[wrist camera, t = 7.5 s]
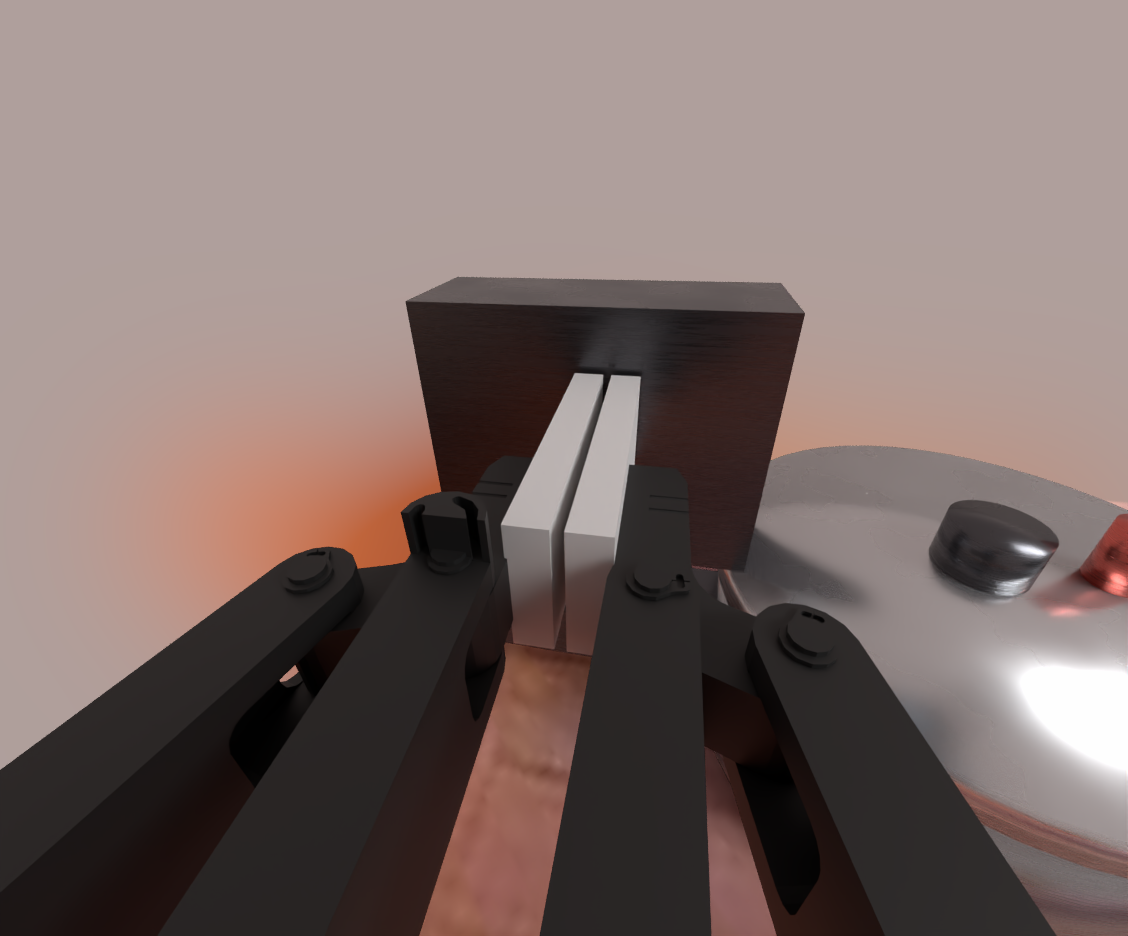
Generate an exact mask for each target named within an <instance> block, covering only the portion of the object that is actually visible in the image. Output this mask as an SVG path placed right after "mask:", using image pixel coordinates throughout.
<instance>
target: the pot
mask: <svg viewBox="0 0 1128 936" xmlns="http://www.w3.org/2000/svg"><path fill="white" fill-rule="evenodd" d="M692 571H693V575H694V576H695V578H696V580H697V582H698V583H699V585H700V586H701V587H702V588H703V589H704V590H705V591H706V592H707V593H708V594H710V595H711V596H713V597H714V598H715V599H717V600H718V601H720V602H722V603H724V604H726V605H728V604H727V601H726V598H725V595H724V592H723V589H722V587H721V584H720V581H719V575H718V571H710V570H702V569H695V568H692ZM505 642H506V643H512V644H516V643H513V633H512V625H511V627H510V630H509V633H508V636H507V639H506V641H505ZM518 645H522V644H518ZM524 646H529V645H524ZM530 647H535V646H530ZM536 648H542V647H536ZM542 649H547V650H553V651H559V652H565V653H571V654H577V655H583V656H589V657H592V655H586V654H580V653H573V652H567V644H566V604H565V608H564V612H563V616H562V620H561V624H560V628H559V632H558V636H557V640H556V644H555V648H554V649H548V648H542ZM715 754H716V757H717V759H718V761H719V763H720V765H721V767H722V769H723V771H724V773H725V774H726V776H727V778H728V780H729V782H730V779H729V776H728V773H727V770H726V766H725V763H724V760H723V755H721V754H719V753H717V752H715ZM730 784H731V783H730ZM982 825H983V824H982ZM983 826H984V828H985V829H986V831H987V832H988V834H989V835H990V837H991V838H992V840H993V841H994V843H995V844H996V846H997V847H998V849H999V850H1000V852H1001V853H1002V855H1003V856H1004V858H1005V859H1006V861H1007V862H1008V864H1009V865H1010V867H1011V868H1012V870H1013V871H1014V873H1015V874H1016V876H1017V877H1018V879H1019V880H1020V882H1021V883H1022V885H1023V886H1024V887H1025V889H1026V890H1027V892H1028V893H1029V895H1030V896H1031V898H1032V899H1033V901H1034V902H1035V904H1036V905H1037V907H1038V908H1039V910H1040V911H1041V913H1042V914H1043V916H1044V917H1045V919H1046V920H1047V922H1048V923H1049V925H1050V926H1051V928H1052V929H1053V931H1054V932H1055V934H1056V935H1057V936H1128V879H1127V878H1123V877H1120V876H1116V875H1112V874H1109V873H1105V872H1101V871H1098V870H1094V869H1091V868H1087V867H1084V866H1081V865H1079V864H1076V863H1073V862H1071V861H1068V860H1065V859H1063V858H1060V857H1057V856H1055V855H1052V854H1049V853H1047V852H1044V851H1041V850H1039V849H1036V848H1033V847H1031V846H1028V845H1025V844H1023V843H1020V842H1018V841H1016V840H1014V839H1012V838H1010V837H1008V836H1006V835H1004V834H1001V833H999V832H997V831H995V830H993V829H991V828H989V827H987V826H985V825H983Z"/></svg>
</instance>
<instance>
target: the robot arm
mask: <svg viewBox="0 0 1128 936" xmlns="http://www.w3.org/2000/svg"><path fill="white" fill-rule="evenodd" d="M640 379H641V377H638V376H619V375H611V379H610V382H609V385H608V389H607V392H606V395H605V399H604V402H603V405H602V401H603V375H601V374H582V373H575V374H574V376H573V378H572V380H571V382H570V384H569V386H568V388H567V390H566V392H565V394H564V396H563V399H562V401H561V403H560V405H559V407H558V409H557V411H556V413H555V415H554V417H553V419H552V421H551V423H550V425H549V427H548V429H547V431H546V433H545V435H544V437H543V439H542V441H541V444H540V446H539V448H538V450H537V452H536V454H535V456H534V458H528V457H517V456H505V455H504V456H503V457H501V458H500V459H499V460H497V461H496V462H494V463H493V464H491V465H490V466H488V468H487V469H486V471H485V472H484V474H483V476H482V477H481V479H480V482H479V483H478V484H477V485H476V487H475V488H474V490H473V492H472V494H468V493H463V492H459V491H455V492H440V493H435V494H431V495H427V496H424V497H422V498H420V499H418V500H416V501H414V502H412V503H410V504H409V505H408V506H407V507H406V508H405V509H404V510H403V511H402V512H401V515H402V519H403V523H404V528H405V532H406V536H407V540H408V544H409V548H410V552H411V554H410V556H409V558H408V559H407V560H406V562H404V563H399V564H394V565H386V566H377V567H370V568H361V569H357V566H356V563H355V560H354V558H353V555H352V554H350V553H349V552H347V551H346V550H344V549H341V548H334V547H322V548H314V549H310V550H307V551H304V552H301V553H298V554H295V555H294V556H292V557H290V558H288V559H287V560H285V561H283V562H282V563H280V564H278V565H277V566H276V567H274V568H273V569H272V570H270V571H269V572H268V573H266V574H265V575H263V576H262V577H261V578H259V579H258V580H257V581H256V582H254V583H253V584H251V585H250V586H249V587H247V588H246V589H244V590H243V591H242V592H240V593H239V594H238V595H236V596H235V597H234V598H232V599H231V600H230V601H228V602H227V603H226V604H224V605H223V606H221V607H220V608H219V609H217V610H216V611H215V612H213V613H212V614H211V615H209V616H208V617H207V618H205V619H204V620H203V621H201V622H200V623H199V624H197V625H196V626H194V627H193V628H192V629H190V630H189V631H188V632H186V633H185V634H184V635H182V636H181V637H180V638H178V639H177V640H176V641H174V642H173V643H172V644H170V645H169V646H168V647H166V648H165V649H163V650H162V651H161V652H159V653H158V654H157V655H155V656H154V657H152V658H151V659H150V660H149V661H147V662H146V663H144V664H143V665H142V666H140V667H139V668H138V669H137V670H135V671H134V672H132V673H131V674H129V675H128V676H127V677H126V678H124V679H123V680H121V681H120V682H119V683H117V684H116V685H115V686H113V687H112V688H111V689H109V690H108V691H106V692H105V693H104V694H102V695H101V696H100V697H98V698H97V699H96V700H94V701H93V702H92V703H90V704H89V705H88V706H87V707H85V708H84V709H82V710H81V711H79V712H78V713H77V714H75V715H74V716H73V717H71V718H70V719H69V720H67V721H66V722H65V723H63V724H62V725H61V726H59V727H58V728H57V729H55V730H54V731H52V732H51V733H50V734H48V735H47V736H46V737H44V738H43V739H42V740H40V741H39V742H38V743H36V744H35V745H34V746H32V747H31V748H29V749H28V750H27V751H25V752H24V753H23V754H21V755H20V756H19V757H17V758H16V759H15V760H13V761H12V762H11V763H9V764H8V765H6V766H5V767H4V768H2V769H1V770H0V936H419V934H420V931H421V928H422V925H423V922H424V919H425V915H426V912H427V909H428V906H429V903H430V900H431V897H432V894H433V891H434V887H435V884H436V881H437V878H438V875H439V872H440V869H441V866H442V863H443V859H444V856H445V853H446V850H447V847H448V844H449V841H450V838H451V835H452V832H453V828H454V825H455V822H456V819H457V816H458V813H459V810H460V807H461V804H462V800H463V797H464V794H465V791H466V788H467V785H468V782H469V779H470V776H471V772H472V769H473V766H474V763H475V760H476V757H477V754H478V751H479V748H480V745H481V741H482V738H483V735H484V732H485V729H486V726H487V723H488V720H489V717H490V713H491V710H492V707H493V704H494V701H495V698H496V695H497V692H498V689H499V685H500V682H501V679H502V676H503V673H504V669H505V659H506V658H505V650H504V644H505V641H506V639H507V636H508V633H509V630H510V627H511V625H512V633H513V643H516V644H522V645H529V646H535V647H542V648H548V649H554V648H555V644H556V640H557V636H558V632H559V628H560V624H561V620H562V616H563V612H564V608H565V604H566V644H567V652H573V653H580V654H586V655H592V659H591V665H590V670H589V675H588V681H587V686H586V691H585V697H584V702H583V707H582V713H581V718H580V723H579V729H578V734H577V739H576V745H575V750H574V755H573V761H572V766H571V771H570V777H569V782H568V787H567V793H566V798H565V803H564V809H563V814H562V819H561V825H560V830H559V835H558V841H557V846H556V851H555V857H554V862H553V867H552V873H551V878H550V883H549V889H548V894H547V899H546V905H545V910H544V915H543V921H542V926H541V931H540V936H711V914H710V887H709V860H708V833H707V805H706V778H705V751H704V746H706V747H708V748H710V749H711V750H713V751H715V752H717V753H719V754H721V755H723V760H724V763H725V766H726V770H727V773H728V776H729V779H730V783H731V786H732V789H733V793H734V796H735V799H736V803H737V806H738V809H739V812H740V816H741V819H742V822H743V826H744V829H745V832H746V835H747V839H748V842H749V845H750V849H751V852H752V855H753V859H754V862H755V865H756V868H757V872H758V875H759V878H760V882H761V885H762V888H763V892H764V895H765V898H766V901H767V905H768V908H769V911H770V915H771V918H772V921H773V924H774V928H775V931H776V934H777V936H1057V935H1056V934H1055V932H1054V931H1053V929H1052V928H1051V926H1050V925H1049V923H1048V922H1047V920H1046V919H1045V917H1044V916H1043V914H1042V913H1041V911H1040V910H1039V908H1038V907H1037V905H1036V904H1035V902H1034V901H1033V899H1032V898H1031V896H1030V895H1029V893H1028V892H1027V890H1026V889H1025V887H1024V886H1023V885H1022V883H1021V882H1020V880H1019V879H1018V877H1017V876H1016V874H1015V873H1014V871H1013V870H1012V868H1011V867H1010V865H1009V864H1008V862H1007V861H1006V859H1005V858H1004V856H1003V855H1002V853H1001V852H1000V850H999V849H998V847H997V846H996V844H995V843H994V841H993V840H992V838H991V837H990V835H989V834H988V832H987V831H986V829H985V828H984V826H983V825H982V823H981V822H980V820H979V819H978V817H977V816H976V814H975V813H974V811H973V810H972V808H971V807H970V805H969V804H968V802H967V801H966V799H965V798H964V796H963V795H962V794H961V792H960V791H959V789H958V788H957V786H956V785H955V783H954V782H953V780H952V779H951V777H950V776H949V774H948V773H947V771H946V770H945V768H944V767H943V765H942V764H941V762H940V761H939V759H938V758H937V756H936V755H935V753H934V752H933V750H932V749H931V747H930V746H929V744H928V743H927V741H926V740H925V738H924V737H923V735H922V734H921V732H920V731H919V729H918V728H917V726H916V725H915V723H914V722H913V720H912V719H911V717H910V716H909V714H908V713H907V711H906V710H905V708H904V707H903V705H902V704H901V702H900V701H899V700H898V698H897V697H896V695H895V694H894V692H893V691H892V689H891V688H890V686H889V685H888V683H887V682H886V680H885V679H884V677H883V676H882V674H881V673H880V671H879V670H878V668H877V667H876V665H875V664H874V662H873V661H872V659H871V658H870V656H869V655H868V653H867V652H866V650H865V649H864V647H863V646H862V644H861V643H860V641H859V640H858V639H857V638H856V637H855V636H854V635H853V634H852V632H851V631H850V630H849V629H848V628H847V627H846V626H845V625H844V624H842V623H841V622H839V621H838V620H836V619H835V618H833V617H832V616H830V615H829V614H827V613H826V612H823V611H820V610H817V609H815V608H812V607H809V606H806V605H801V604H791V603H782V604H777V605H773V606H768V607H767V608H766V609H764V610H763V611H762V612H760V613H759V614H758V615H757V616H754V615H751V614H749V613H746V612H743V611H741V610H738V609H735V608H733V607H731V606H729V605H726V604H724V603H722V602H720V601H718V600H717V599H715V598H714V597H713V596H711V595H710V594H708V593H707V592H706V591H705V590H704V589H703V588H702V587H701V586H700V585H699V583H698V582H697V580H696V578H695V576H694V575H693V571H692V567H691V549H690V527H689V505H688V483H687V481H686V480H685V479H684V477H683V476H682V475H681V473H680V472H679V471H678V469H677V468H665V467H653V466H641V465H635V450H636V436H637V422H638V408H639V393H640ZM294 665H296V667H297V669H298V671H299V672H298V673H297V674H296V675H295V676H293V677H292V678H290V679H289V680H287V681H284V682H280V679H281V678H282V677H283V676H284V675H285V674H286V673H287V672H288V671H289V670H290V669H291V668H292V667H293V666H294Z"/></svg>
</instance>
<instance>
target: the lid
mask: <svg viewBox="0 0 1128 936" xmlns="http://www.w3.org/2000/svg"><path fill="white" fill-rule="evenodd" d="M406 306H407V312H408V317H409V322H410V327H411V333H412V338H413V344H414V349H415V354H416V359H417V365H418V370H419V375H420V380H421V386H422V391H423V397H424V402H425V407H426V412H427V418H428V423H429V429H430V434H431V439H432V445H433V450H434V455H435V460H436V466H437V471H438V476H439V481H440V487H441V492H455V491H459V492H463V493H468V494H472V492H473V490H474V488H475V487H476V485H477V484H478V483H479V482H480V479H481V477H482V476H483V474H484V472H485V471H486V469H487V468H488V466H490V465H491V464H493V463H494V462H496V461H497V460H499V459H500V458H501V457H503V456H504V455H505V456H517V457H528V458H534V456H535V454H536V452H537V450H538V448H539V446H540V444H541V441H542V439H543V437H544V435H545V433H546V431H547V429H548V427H549V425H550V423H551V421H552V419H553V417H554V415H555V413H556V411H557V409H558V407H559V405H560V403H561V401H562V399H563V396H564V394H565V392H566V390H567V388H568V386H569V384H570V382H571V380H572V378H573V376H574V374H575V373H582V374H601V375H603V401H602V405H603V402H604V399H605V395H606V392H607V389H608V385H609V382H610V379H611V375H619V376H638V377H641V379H640V393H639V408H638V422H637V436H636V450H635V465H641V466H653V467H665V468H677V469H678V471H679V472H680V473H681V475H682V476H683V477H684V479H685V480H686V481H687V483H688V505H689V527H690V549H691V565H693V566H701V567H709V568H716V569H718V575H719V581H720V584H721V587H722V589H723V592H724V595H725V598H726V601H727V604H728V605H729V606H731V607H733V608H735V609H738V610H741V611H743V612H746V613H749V614H751V615H754V616H757V615H758V614H759V613H760V612H762V611H763V610H764V609H766V608H767V607H768V606H773V605H777V604H782V603H791V604H801V605H806V606H809V607H812V608H815V609H817V610H820V611H823V612H826V613H827V614H829V615H830V616H832V617H833V618H835V619H836V620H838V621H839V622H841V623H842V624H844V625H845V626H846V627H847V628H848V629H849V630H850V631H851V632H852V634H853V635H854V636H855V637H856V638H857V639H858V640H859V641H860V643H861V644H862V646H863V647H864V649H865V650H866V652H867V653H868V655H869V656H870V658H871V659H872V661H873V662H874V664H875V665H876V667H877V668H878V670H879V671H880V673H881V674H882V676H883V677H884V679H885V680H886V682H887V683H888V685H889V686H890V688H891V689H892V691H893V692H894V694H895V695H896V697H897V698H898V700H899V701H900V702H901V704H902V705H903V707H904V708H905V710H906V711H907V713H908V714H909V716H910V717H911V719H912V720H913V722H914V723H915V725H916V726H917V728H918V729H919V731H920V732H921V734H922V735H923V737H924V738H925V740H926V741H927V743H928V744H929V746H930V747H931V749H932V750H933V752H934V753H935V755H936V756H937V758H938V759H939V761H940V762H941V764H942V765H943V767H944V768H945V770H946V771H947V773H948V774H949V776H950V777H951V779H952V780H953V782H954V783H955V785H956V786H957V788H958V789H959V791H960V792H961V794H962V795H963V796H964V798H965V799H966V801H967V802H968V804H969V805H970V807H971V808H972V810H973V811H974V813H975V814H976V816H977V817H978V819H979V820H980V822H981V823H982V824H983V825H985V826H987V827H989V828H991V829H993V830H995V831H997V832H999V833H1001V834H1004V835H1006V836H1008V837H1010V838H1012V839H1014V840H1016V841H1018V842H1020V843H1023V844H1025V845H1028V846H1031V847H1033V848H1036V849H1039V850H1041V851H1044V852H1047V853H1049V854H1052V855H1055V856H1057V857H1060V858H1063V859H1065V860H1068V861H1071V862H1073V863H1076V864H1079V865H1081V866H1084V867H1087V868H1091V869H1094V870H1098V871H1101V872H1105V873H1109V874H1112V875H1116V876H1120V877H1123V878H1127V879H1128V510H1126V509H1124V508H1121V507H1119V506H1116V505H1114V504H1112V503H1109V502H1107V501H1105V500H1102V499H1099V498H1097V497H1094V496H1091V495H1089V494H1086V493H1083V492H1081V491H1078V490H1076V489H1073V488H1070V487H1067V486H1064V485H1061V484H1058V483H1055V482H1052V481H1049V480H1046V479H1043V478H1040V477H1037V476H1034V475H1030V474H1027V473H1024V472H1020V471H1017V470H1013V469H1010V468H1006V467H1002V466H998V465H994V464H990V463H986V462H982V461H978V460H973V459H969V458H964V457H959V456H953V455H949V454H943V453H937V452H930V451H923V450H917V449H908V448H897V447H885V446H884V447H883V446H835V447H823V448H817V449H810V450H804V451H800V452H796V453H791V454H787V455H784V456H781V457H779V458H776V459H774V460H771V455H772V451H773V447H774V442H775V438H776V434H777V430H778V425H779V421H780V417H781V413H782V409H783V404H784V400H785V396H786V392H787V388H788V383H789V379H790V375H791V370H792V366H793V362H794V358H795V354H796V349H797V345H798V341H799V337H800V332H801V328H802V324H803V320H804V315H805V313H804V311H803V310H802V309H801V308H800V307H799V305H798V304H797V303H796V301H795V300H794V299H793V298H792V296H791V295H790V294H789V293H788V292H787V290H786V289H785V288H784V286H783V285H782V284H781V283H749V282H747V283H746V282H696V281H694V282H693V281H643V280H588V279H535V278H481V277H479V278H478V277H457V278H454V279H452V280H450V281H448V282H446V283H444V284H442V285H439V286H437V287H435V288H433V289H431V290H429V291H427V292H424V293H422V294H420V295H418V296H416V297H414V298H411V299H409V300H407V301H406ZM770 460H771V461H770Z"/></svg>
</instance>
